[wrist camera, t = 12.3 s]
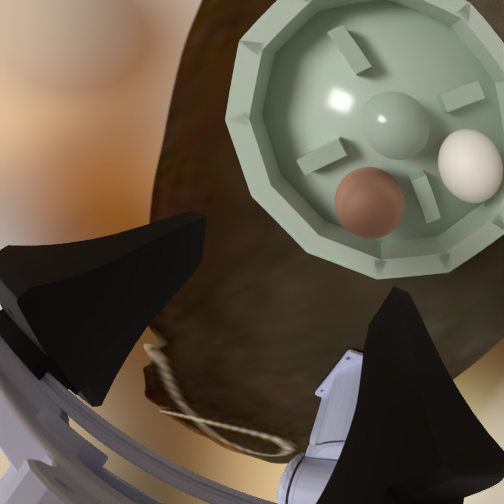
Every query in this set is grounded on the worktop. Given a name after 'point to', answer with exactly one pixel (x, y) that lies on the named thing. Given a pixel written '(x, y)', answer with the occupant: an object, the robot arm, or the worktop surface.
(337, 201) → the terracotta bead
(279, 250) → the worktop surface
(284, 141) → the tray
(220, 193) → the worktop surface
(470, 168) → the ivory bead
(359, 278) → the worktop surface
